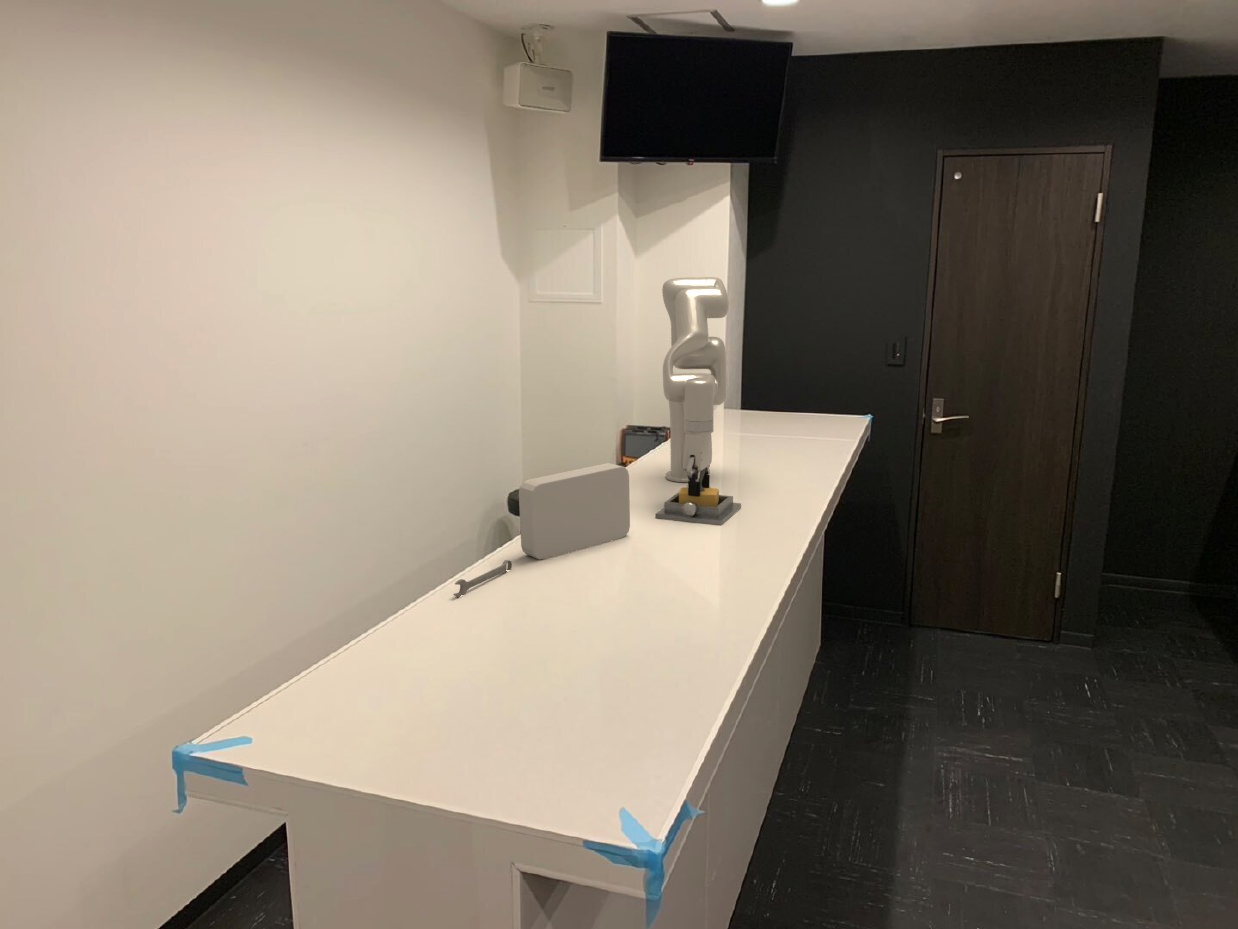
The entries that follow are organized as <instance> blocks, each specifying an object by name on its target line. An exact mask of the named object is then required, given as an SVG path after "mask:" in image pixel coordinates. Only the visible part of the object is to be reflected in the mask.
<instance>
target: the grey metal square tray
mask: <svg viewBox="0 0 1238 929" xmlns="http://www.w3.org/2000/svg"><path fill="white" fill-rule="evenodd" d="M663 505H664V506H663V508H661V509H660V510H659V511H657V512H656V513H655V519H661V520H669V521H676V522H677V521H678V522H685V523H686V522H687V523H695V524H697V523H698V524H706V525H716V526H722V525H724V524H723V523H724V522H725V521H726V522H727V521H728V520H730V518H731V517H733V516H734V515H735V514H736V513H737V512H738V511H739V510H740V509H742V503H741V502H740V503H739V502H734V496H732V495H722V494H719V502H718V505H717V507H714V506H704V505H697V504H696V503H695V502H693V501H689V502H687V503H686V504H684V503H679V492H677V493H676V494H674V495H673V496H671V497H670V498H669V499H667V500H665V502H664V503H663ZM738 509H739V510H738ZM737 510H738V511H737ZM736 511H737V512H736ZM735 512H736V513H735ZM734 513H735V514H734ZM733 514H734V515H733ZM726 522H725V523H726Z"/></svg>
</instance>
